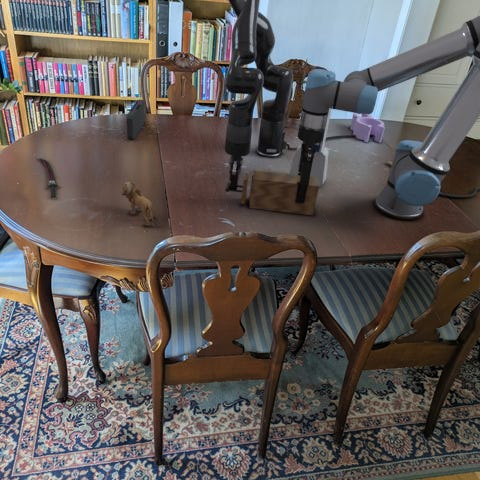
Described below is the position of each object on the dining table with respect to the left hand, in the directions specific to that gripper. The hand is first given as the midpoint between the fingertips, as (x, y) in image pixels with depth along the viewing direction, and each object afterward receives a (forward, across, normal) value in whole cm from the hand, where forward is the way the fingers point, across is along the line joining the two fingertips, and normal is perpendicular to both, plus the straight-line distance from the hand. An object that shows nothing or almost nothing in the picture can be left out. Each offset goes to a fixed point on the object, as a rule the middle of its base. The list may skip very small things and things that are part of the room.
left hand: (233, 189), depth 147 cm
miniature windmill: (+4, -81, +21) cm, 83 cm away
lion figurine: (+4, +16, -26) cm, 31 cm away
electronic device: (+4, -22, +25) cm, 33 cm away
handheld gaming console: (+4, -51, -45) cm, 68 cm away
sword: (+4, -1, -60) cm, 61 cm away
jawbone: (+4, -41, +66) cm, 78 cm away
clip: (+3, -80, +54) cm, 97 cm away
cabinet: (+4, 0, +16) cm, 16 cm away
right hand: (0, 0, +21) cm, 21 cm away
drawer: (+3, 0, +10) cm, 10 cm away
